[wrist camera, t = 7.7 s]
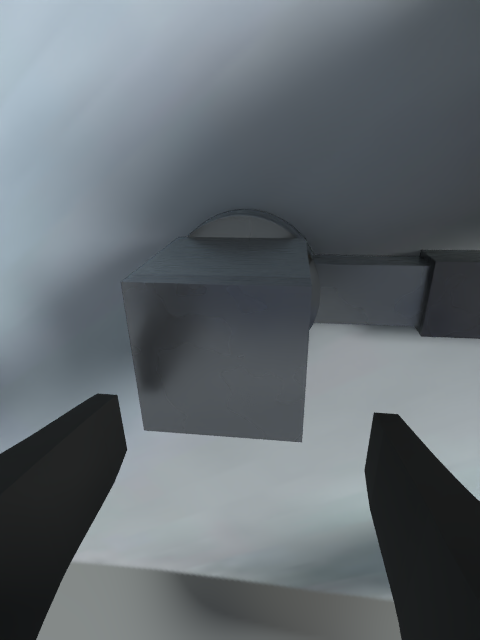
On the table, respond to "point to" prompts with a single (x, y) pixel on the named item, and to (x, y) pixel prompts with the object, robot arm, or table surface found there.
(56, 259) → the table surface
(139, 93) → the table surface
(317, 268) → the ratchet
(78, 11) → the table surface
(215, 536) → the table surface
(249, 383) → the grey brushed cube
